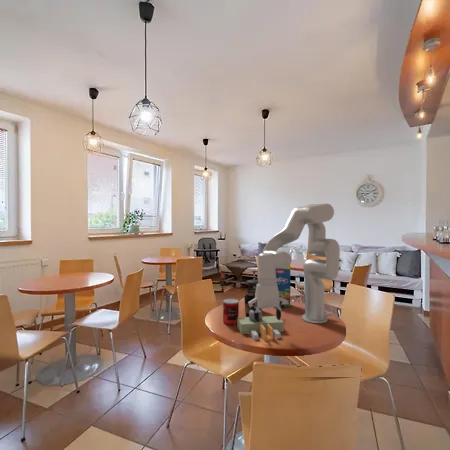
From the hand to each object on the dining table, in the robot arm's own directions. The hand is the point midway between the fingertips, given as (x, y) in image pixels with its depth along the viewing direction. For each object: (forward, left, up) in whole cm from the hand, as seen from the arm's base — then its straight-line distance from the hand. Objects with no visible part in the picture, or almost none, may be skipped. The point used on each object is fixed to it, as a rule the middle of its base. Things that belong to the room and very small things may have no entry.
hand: (267, 320), depth 123 cm
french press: (-4, -38, -8) cm, 39 cm away
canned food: (+13, -21, -8) cm, 25 cm away
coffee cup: (+1, -25, -8) cm, 26 cm away
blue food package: (-22, -46, -8) cm, 51 cm away
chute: (+1, 0, -8) cm, 8 cm away
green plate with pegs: (+1, -6, -8) cm, 10 cm away
